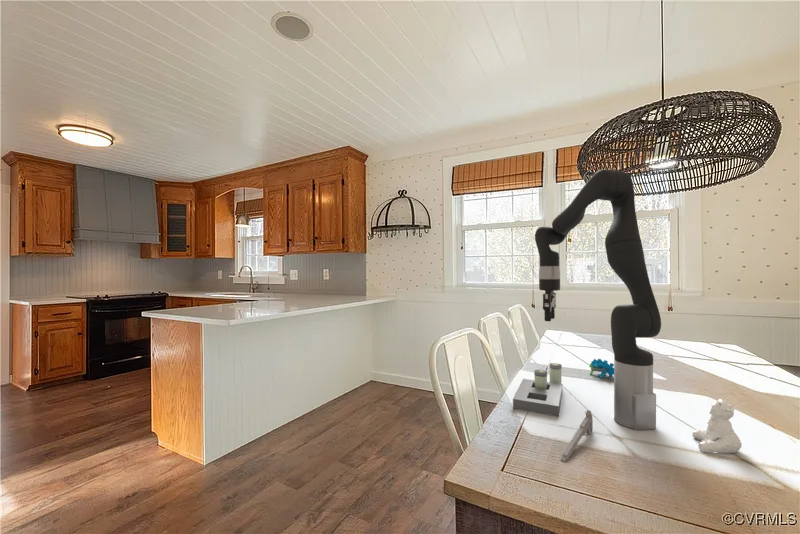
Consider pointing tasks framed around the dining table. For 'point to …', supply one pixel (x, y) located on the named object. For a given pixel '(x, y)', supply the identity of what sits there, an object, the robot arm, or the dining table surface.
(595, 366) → the blue spiky dinosaur toy
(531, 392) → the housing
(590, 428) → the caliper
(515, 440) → the dining table surface
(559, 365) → the pale green canister
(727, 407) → the white creature statuette
